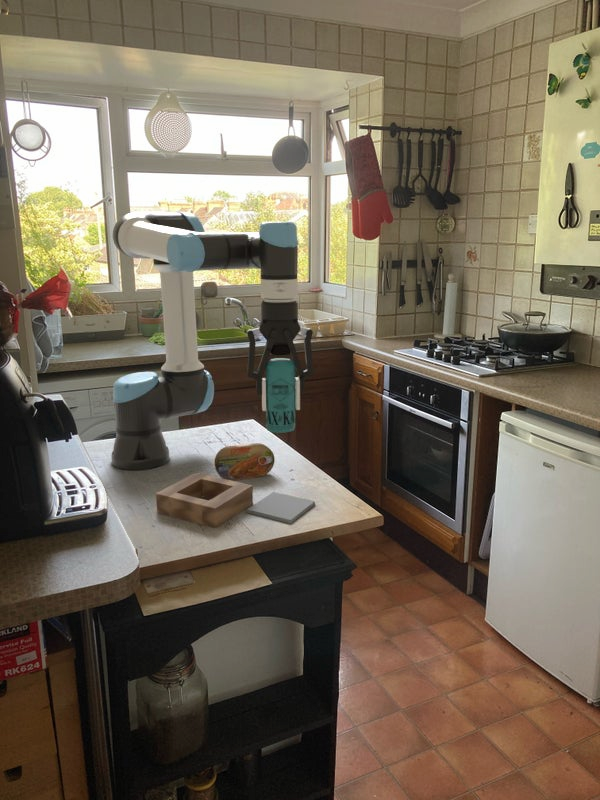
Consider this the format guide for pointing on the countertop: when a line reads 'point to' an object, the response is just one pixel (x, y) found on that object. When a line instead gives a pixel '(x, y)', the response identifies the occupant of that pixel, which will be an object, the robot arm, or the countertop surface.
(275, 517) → the slate mat
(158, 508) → the walnut bottle holder
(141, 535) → the countertop surface
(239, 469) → the tin
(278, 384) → the beverage bottle
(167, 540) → the countertop surface
